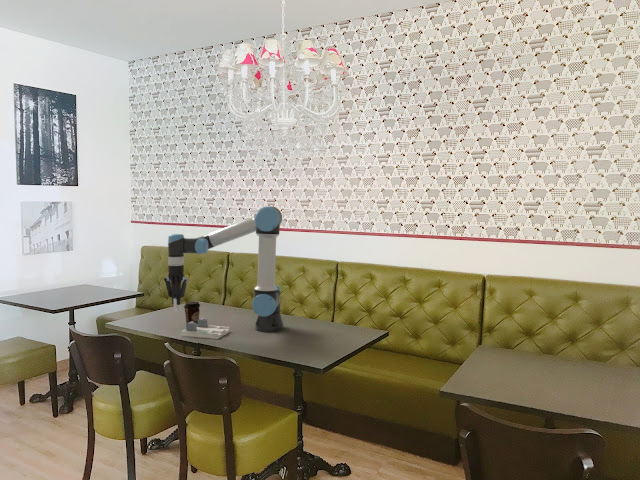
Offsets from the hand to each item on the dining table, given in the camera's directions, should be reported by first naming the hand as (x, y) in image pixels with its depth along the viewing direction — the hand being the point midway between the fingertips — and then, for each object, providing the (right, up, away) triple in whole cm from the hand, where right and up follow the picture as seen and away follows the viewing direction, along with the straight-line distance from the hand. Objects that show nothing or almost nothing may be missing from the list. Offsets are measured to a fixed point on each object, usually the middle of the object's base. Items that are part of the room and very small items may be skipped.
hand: (176, 310), depth 252 cm
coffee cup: (+4, -11, +15) cm, 19 cm away
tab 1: (+8, -10, -1) cm, 13 cm away
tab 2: (+12, -10, +6) cm, 16 cm away
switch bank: (+15, -12, +1) cm, 19 cm away
